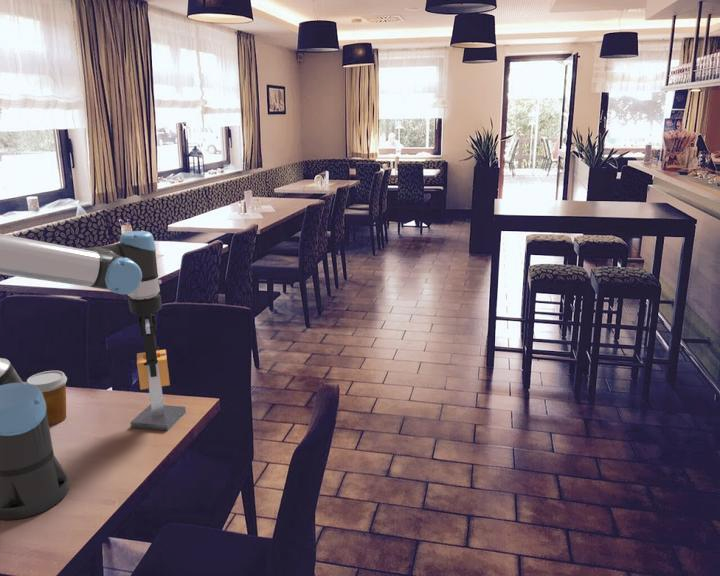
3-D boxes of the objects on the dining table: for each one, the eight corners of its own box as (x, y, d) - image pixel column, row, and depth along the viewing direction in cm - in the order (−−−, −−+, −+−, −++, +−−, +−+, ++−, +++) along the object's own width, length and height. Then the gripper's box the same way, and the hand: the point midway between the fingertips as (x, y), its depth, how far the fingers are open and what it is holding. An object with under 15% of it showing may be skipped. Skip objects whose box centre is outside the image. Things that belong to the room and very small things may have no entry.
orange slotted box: (140, 389, 148) (136, 363, 146) (140, 378, 155) (136, 352, 153) (169, 385, 151) (166, 358, 149) (168, 374, 157) (165, 348, 155)
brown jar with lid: (80, 412, 160) (74, 370, 157) (57, 430, 151) (50, 386, 148) (49, 409, 162) (41, 368, 158) (24, 427, 153) (15, 384, 149)
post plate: (167, 430, 150) (163, 396, 147) (131, 427, 152) (126, 393, 149) (185, 411, 159) (182, 379, 157) (151, 409, 161) (147, 376, 159)
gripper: (161, 304, 138) (172, 395, 145) (159, 283, 156) (168, 364, 163) (127, 308, 136) (139, 400, 142) (128, 286, 154) (139, 368, 160)
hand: (154, 380), depth 153 cm, fingers closed on orange slotted box, 7 cm apart
